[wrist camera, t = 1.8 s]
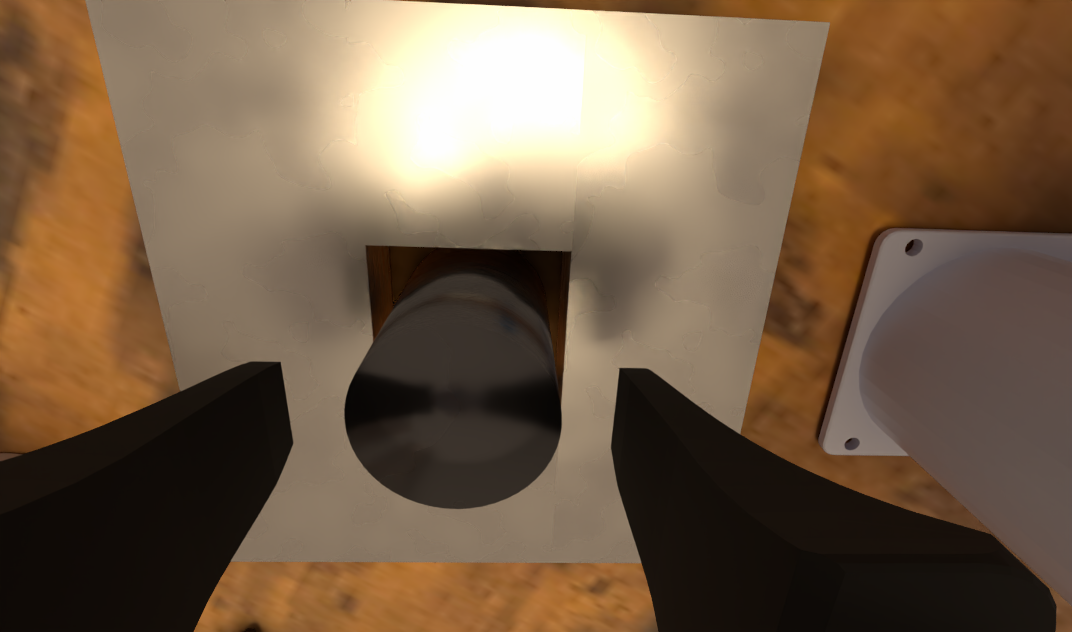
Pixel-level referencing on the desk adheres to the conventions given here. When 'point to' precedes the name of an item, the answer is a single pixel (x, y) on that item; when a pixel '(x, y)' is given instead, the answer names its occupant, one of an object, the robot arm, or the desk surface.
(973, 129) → the desk surface
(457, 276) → the dark metal cylinder
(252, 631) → the hand tool
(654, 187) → the housing block
